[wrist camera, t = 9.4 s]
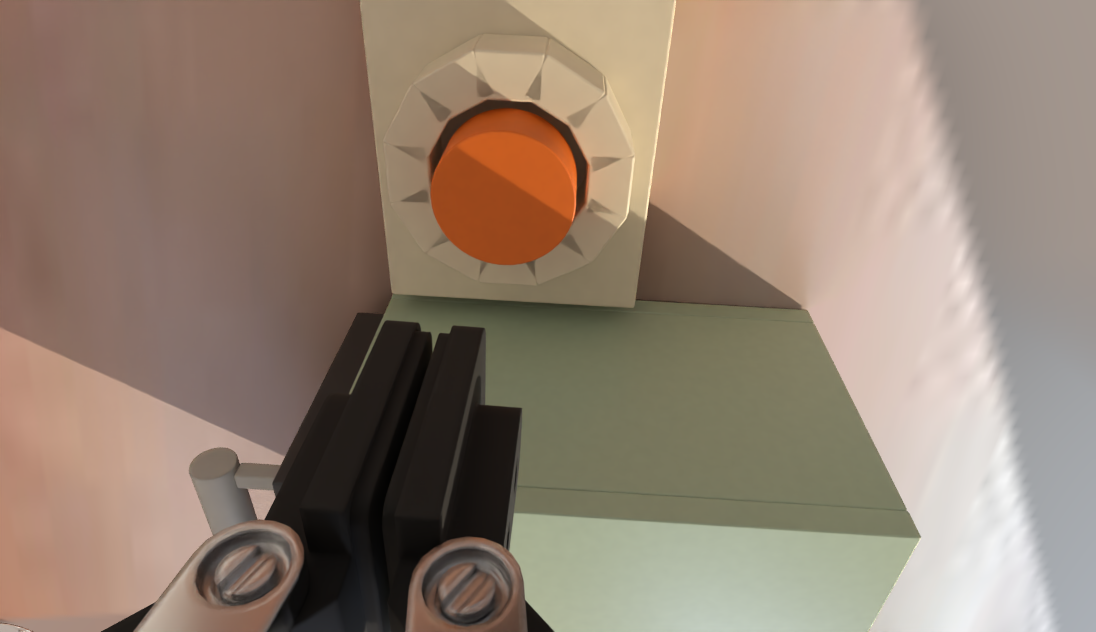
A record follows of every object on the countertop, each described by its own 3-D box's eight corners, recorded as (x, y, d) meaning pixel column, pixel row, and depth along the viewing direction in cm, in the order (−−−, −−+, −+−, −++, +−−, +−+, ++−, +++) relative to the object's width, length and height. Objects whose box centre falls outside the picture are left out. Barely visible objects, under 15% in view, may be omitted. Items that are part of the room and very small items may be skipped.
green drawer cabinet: (420, 517, 31) (363, 744, 23) (395, 285, 24) (300, 498, 16) (736, 537, 31) (789, 773, 23) (807, 309, 23) (922, 537, 15)
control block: (371, -58, 18) (329, -42, 15) (673, -43, 17) (691, -24, 15) (402, 269, 23) (377, 326, 20) (631, 282, 23) (638, 342, 20)
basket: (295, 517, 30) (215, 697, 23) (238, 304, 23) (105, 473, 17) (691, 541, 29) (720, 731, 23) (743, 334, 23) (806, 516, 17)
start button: (439, 103, 17) (425, 126, 15) (581, 111, 17) (581, 134, 15) (445, 231, 19) (433, 262, 17) (572, 238, 19) (571, 269, 17)
